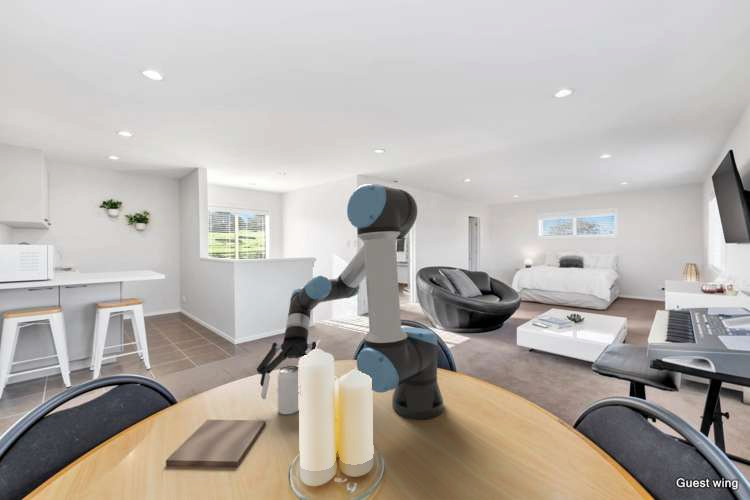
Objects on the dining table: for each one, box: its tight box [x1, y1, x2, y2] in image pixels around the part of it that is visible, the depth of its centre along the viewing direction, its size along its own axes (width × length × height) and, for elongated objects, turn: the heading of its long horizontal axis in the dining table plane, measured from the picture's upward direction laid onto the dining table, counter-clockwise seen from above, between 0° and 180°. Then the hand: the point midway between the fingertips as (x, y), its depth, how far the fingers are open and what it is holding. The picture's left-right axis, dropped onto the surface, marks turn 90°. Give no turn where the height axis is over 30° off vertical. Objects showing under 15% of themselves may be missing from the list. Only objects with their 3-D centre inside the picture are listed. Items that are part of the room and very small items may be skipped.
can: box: [277, 365, 299, 416], centre depth 92 cm, size 6×6×12 cm
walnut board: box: [165, 419, 266, 468], centre depth 77 cm, size 16×16×1 cm
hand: (287, 396), depth 90 cm, fingers open, 13 cm apart
